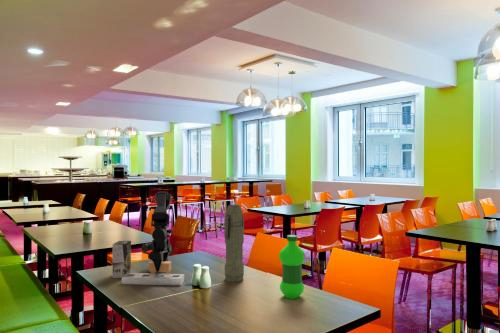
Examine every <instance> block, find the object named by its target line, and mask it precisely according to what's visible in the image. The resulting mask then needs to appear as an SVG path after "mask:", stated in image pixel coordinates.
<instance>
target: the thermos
mask: <svg viewBox="0 0 500 333" xmlns="http://www.w3.org/2000/svg"><path fill="white" fill-rule="evenodd" d="M225 213H226V214H225V217H224V220H223V221H224V223H223V224H224V228H223V229H224V230H223V234H224V244H225V263H224V281H225V282H227V283H231V282H232V284H233V283H236V282H237V283H241V282H243V281H244V275H245V274H244V269H245V266H244V263H243V259H244V258H243V256H244V255H243V253H244V252H243V249H244V248H243V247H244V245H243V244H244V240H245V238H244V237H245V236H244V235H245V217H244V214H243V209H242V206H241V205H239V204H229V205H227V208H226V211H225Z"/></svg>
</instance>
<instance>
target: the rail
mask: <svg viewBox="0 0 500 333" xmlns="http://www.w3.org/2000/svg"><path fill="white" fill-rule="evenodd" d="M184 282H185V274H184V273H170V274H165V273H156V274H154V273H147V272H141V273H140V272H131V273H127V274H125V275H124V276H123V277H122V278H121V285H146V286H147V285H151V286H157V285H158V286H159V285H160V286H182V285H183V283H184Z"/></svg>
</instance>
